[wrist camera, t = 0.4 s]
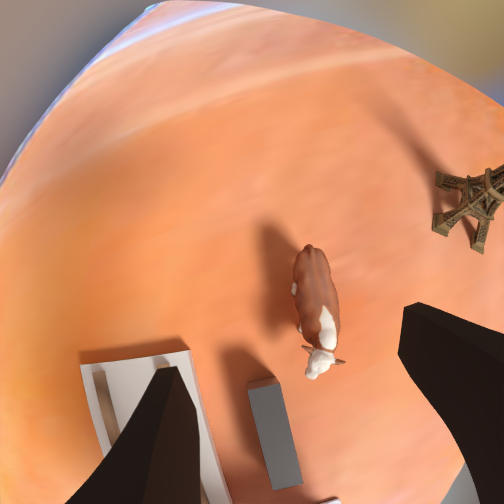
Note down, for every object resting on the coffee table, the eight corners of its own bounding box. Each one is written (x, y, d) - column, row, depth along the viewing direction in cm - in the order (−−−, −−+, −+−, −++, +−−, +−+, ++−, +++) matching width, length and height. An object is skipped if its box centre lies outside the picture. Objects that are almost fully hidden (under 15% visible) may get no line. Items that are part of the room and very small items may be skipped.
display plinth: (234, 508, 27) (233, 521, 24) (133, 512, 26) (125, 522, 23) (190, 349, 33) (185, 350, 30) (87, 364, 32) (74, 365, 29)
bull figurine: (292, 374, 33) (304, 384, 25) (286, 259, 36) (295, 237, 28) (329, 370, 33) (351, 379, 25) (322, 258, 36) (340, 236, 28)
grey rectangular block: (296, 464, 29) (303, 483, 24) (269, 470, 29) (272, 490, 24) (275, 376, 33) (279, 383, 27) (247, 382, 32) (246, 390, 27)
